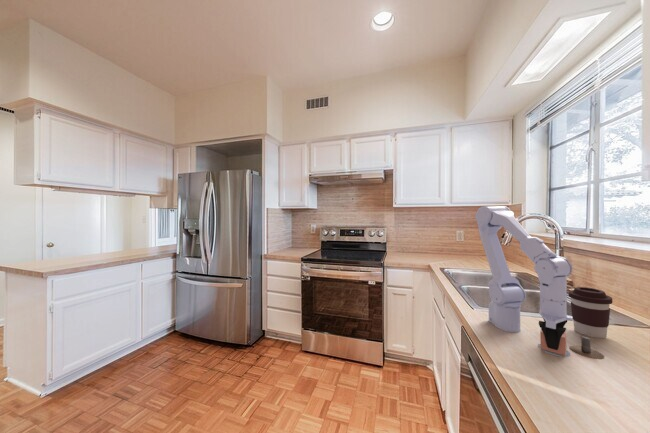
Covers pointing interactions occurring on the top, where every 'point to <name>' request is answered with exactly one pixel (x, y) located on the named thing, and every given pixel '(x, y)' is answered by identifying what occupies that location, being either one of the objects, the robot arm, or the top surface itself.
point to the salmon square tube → (562, 344)
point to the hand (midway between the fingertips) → (553, 344)
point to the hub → (586, 349)
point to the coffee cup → (590, 311)
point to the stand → (555, 353)
